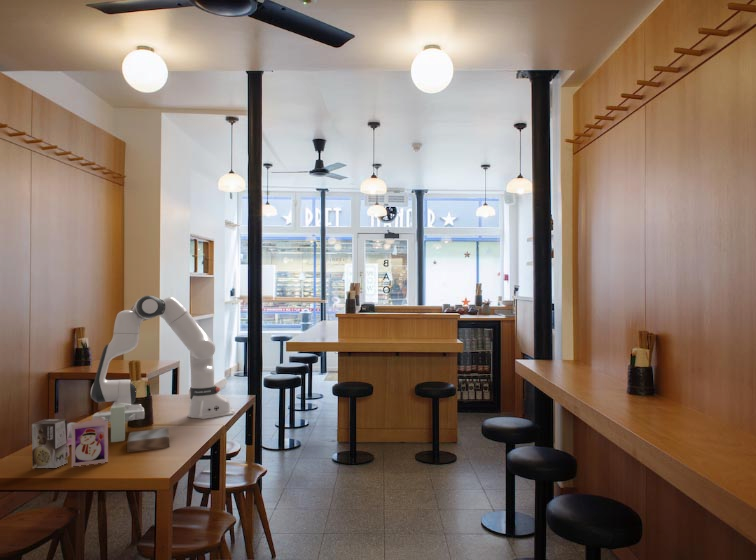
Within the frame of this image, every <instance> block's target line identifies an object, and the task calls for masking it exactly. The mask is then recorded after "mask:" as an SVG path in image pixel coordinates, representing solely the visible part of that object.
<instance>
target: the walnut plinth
mask: <svg viewBox="0 0 756 560" xmlns="http://www.w3.org/2000/svg"><path fill="white" fill-rule="evenodd" d="M169 430H170V429H169V428H167V427H166V428H165V427H164V428H157V429H149V430H140V431H130V432H129V433H128V437H127V445H126V447H127V448H126V449H127V451H126V452H127V453H132V452H139V451H147V450H156V449H161V448H163V449H164V448H170V431H169Z"/></svg>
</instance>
